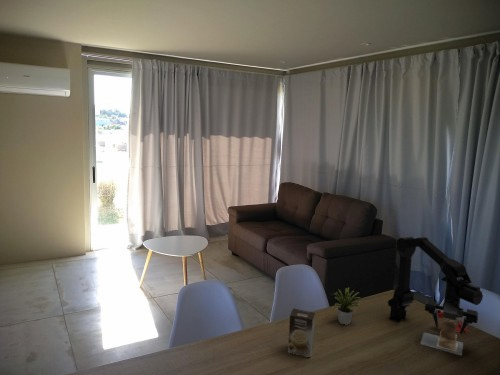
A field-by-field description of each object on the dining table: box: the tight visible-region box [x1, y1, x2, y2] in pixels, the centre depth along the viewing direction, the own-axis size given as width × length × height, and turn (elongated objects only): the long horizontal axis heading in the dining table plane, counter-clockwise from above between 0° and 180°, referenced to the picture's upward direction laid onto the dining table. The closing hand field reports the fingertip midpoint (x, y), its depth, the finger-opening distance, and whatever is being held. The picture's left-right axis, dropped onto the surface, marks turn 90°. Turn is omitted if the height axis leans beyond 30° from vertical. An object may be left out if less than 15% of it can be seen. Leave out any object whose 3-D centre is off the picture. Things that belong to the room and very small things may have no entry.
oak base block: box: [438, 331, 458, 350], centre depth 156 cm, size 6×6×4 cm
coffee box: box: [287, 308, 316, 358], centre depth 149 cm, size 9×6×16 cm
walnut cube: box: [440, 319, 458, 340], centre depth 155 cm, size 5×5×5 cm
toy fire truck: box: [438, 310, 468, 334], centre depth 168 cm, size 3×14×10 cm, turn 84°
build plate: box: [419, 332, 464, 356], centre depth 157 cm, size 15×11×1 cm
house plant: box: [331, 286, 364, 326], centre depth 173 cm, size 14×14×16 cm
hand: (448, 330), depth 155 cm, fingers open, 8 cm apart
